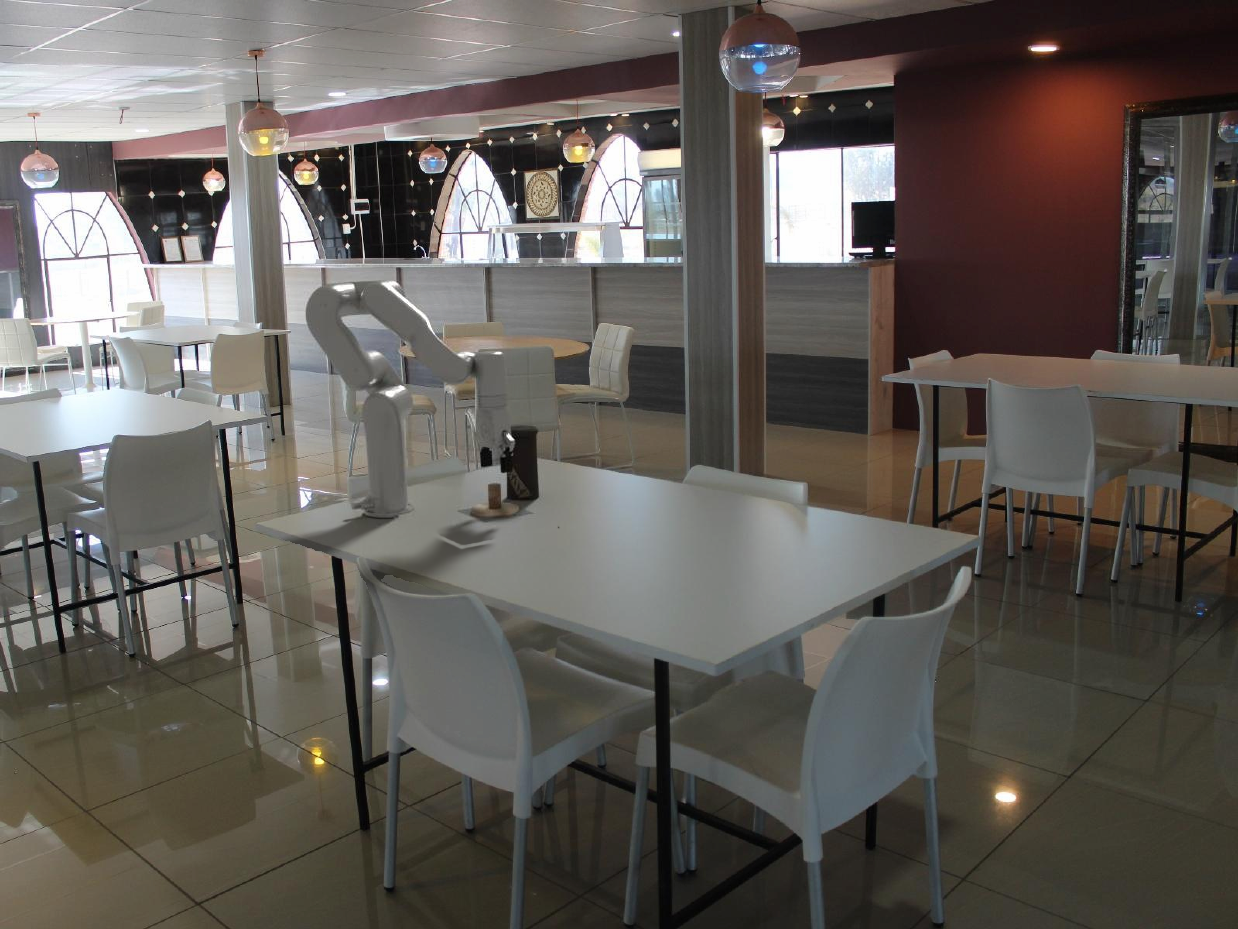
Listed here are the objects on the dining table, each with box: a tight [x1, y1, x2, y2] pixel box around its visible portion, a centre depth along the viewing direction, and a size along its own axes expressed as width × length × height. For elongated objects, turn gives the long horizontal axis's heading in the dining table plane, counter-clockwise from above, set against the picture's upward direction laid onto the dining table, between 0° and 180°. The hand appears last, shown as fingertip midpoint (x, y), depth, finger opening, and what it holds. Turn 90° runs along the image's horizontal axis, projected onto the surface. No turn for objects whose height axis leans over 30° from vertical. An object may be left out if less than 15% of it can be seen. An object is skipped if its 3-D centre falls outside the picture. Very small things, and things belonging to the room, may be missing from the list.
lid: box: [470, 482, 520, 518], centre depth 278 cm, size 12×12×7 cm
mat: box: [457, 507, 534, 523], centre depth 279 cm, size 14×14×1 cm
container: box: [506, 424, 540, 502], centre depth 292 cm, size 9×9×20 cm
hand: (496, 469), depth 276 cm, fingers open, 9 cm apart
